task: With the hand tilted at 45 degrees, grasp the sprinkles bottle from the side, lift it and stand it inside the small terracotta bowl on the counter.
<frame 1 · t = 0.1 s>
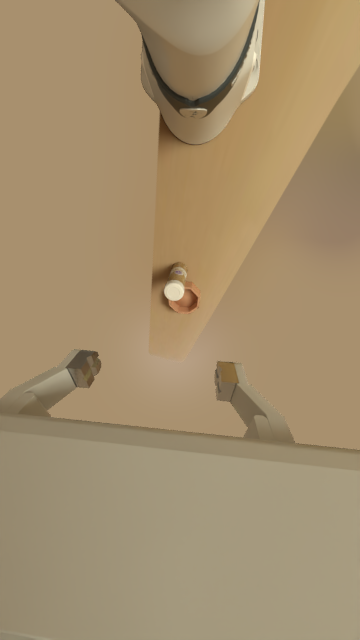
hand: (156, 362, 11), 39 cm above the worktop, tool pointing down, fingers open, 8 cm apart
sprinkles bottle: (179, 269, 47), on the worktop
bowl: (185, 295, 52), on the worktop
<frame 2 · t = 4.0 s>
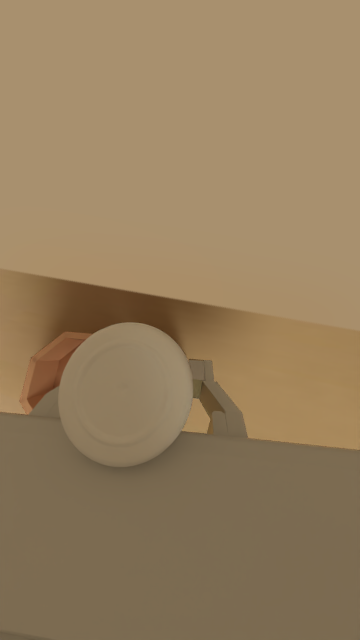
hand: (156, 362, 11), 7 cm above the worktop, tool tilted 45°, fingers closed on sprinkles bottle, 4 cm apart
sprinkles bottle: (168, 365, 19), on the worktop, touching gripper
bowl: (94, 378, 18), on the worktop
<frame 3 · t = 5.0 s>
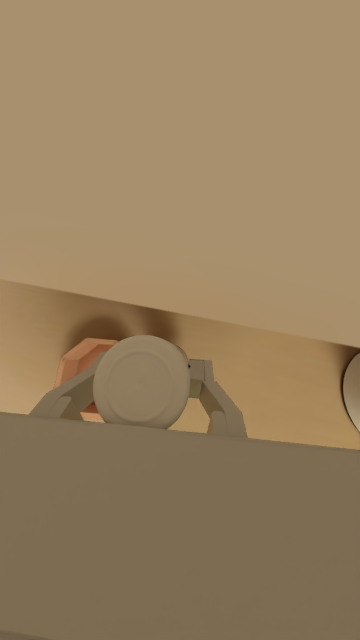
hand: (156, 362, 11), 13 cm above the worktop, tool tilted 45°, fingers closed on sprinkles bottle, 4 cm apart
sprinkles bottle: (170, 362, 21), point 3 cm above the worktop, touching gripper
bowl: (107, 373, 24), on the worktop
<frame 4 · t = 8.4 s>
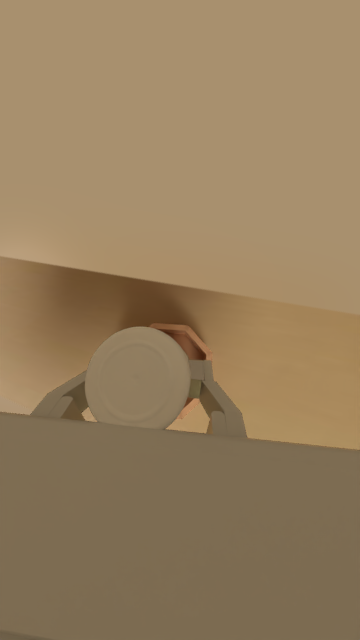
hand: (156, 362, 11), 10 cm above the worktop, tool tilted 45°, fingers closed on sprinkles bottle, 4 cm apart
sprinkles bottle: (171, 364, 20), resting on bowl, touching gripper
bowl: (169, 366, 20), on the worktop
when the fingers open (9 cm above the worktop, at t = 8.6 s): sprinkles bottle stays where it is, resting on bowl.
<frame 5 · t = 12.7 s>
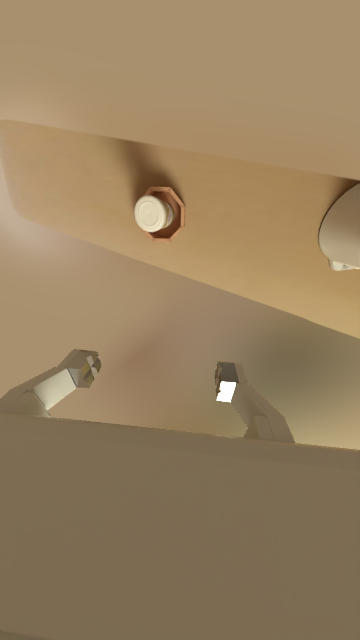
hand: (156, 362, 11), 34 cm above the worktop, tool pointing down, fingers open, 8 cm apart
sprinkles bottle: (164, 214, 35), resting on bowl
bowl: (163, 216, 36), on the worktop
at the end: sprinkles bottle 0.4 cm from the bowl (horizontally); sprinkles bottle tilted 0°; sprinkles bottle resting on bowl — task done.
